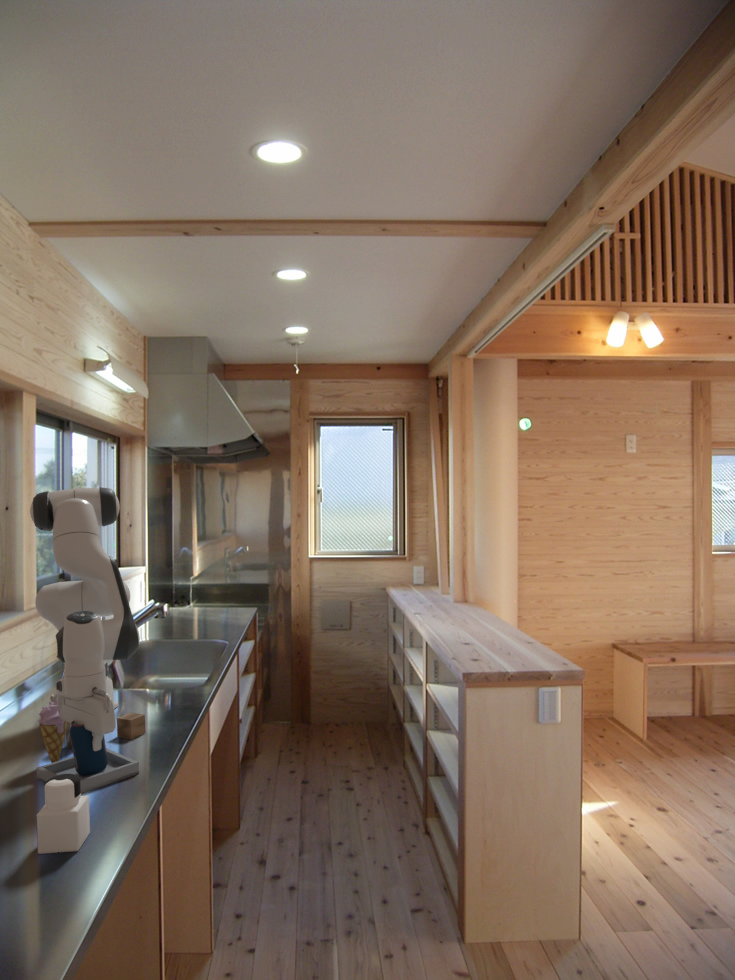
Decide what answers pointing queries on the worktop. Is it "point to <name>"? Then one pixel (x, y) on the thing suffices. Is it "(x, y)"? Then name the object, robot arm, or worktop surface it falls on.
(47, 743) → the ice cream cone
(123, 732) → the walnut block
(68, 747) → the dark metal canister
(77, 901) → the worktop surface
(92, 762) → the soda can
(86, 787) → the slate tray
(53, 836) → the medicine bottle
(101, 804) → the worktop surface
